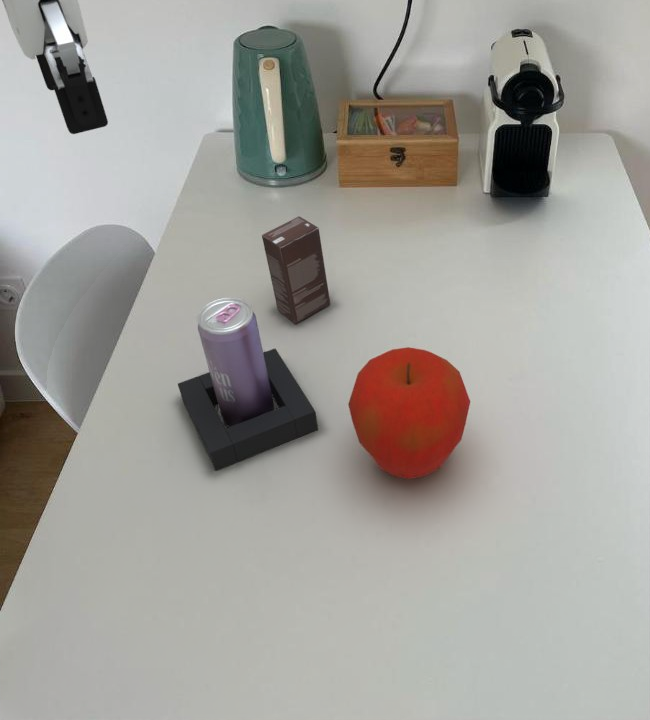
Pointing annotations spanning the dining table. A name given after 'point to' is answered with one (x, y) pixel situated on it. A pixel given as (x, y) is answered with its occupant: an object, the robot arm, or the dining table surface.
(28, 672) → the dining table surface
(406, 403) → the apple
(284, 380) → the socket pad
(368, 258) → the dining table surface
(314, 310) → the box
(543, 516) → the dining table surface
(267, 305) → the dining table surface
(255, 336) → the beverage can
